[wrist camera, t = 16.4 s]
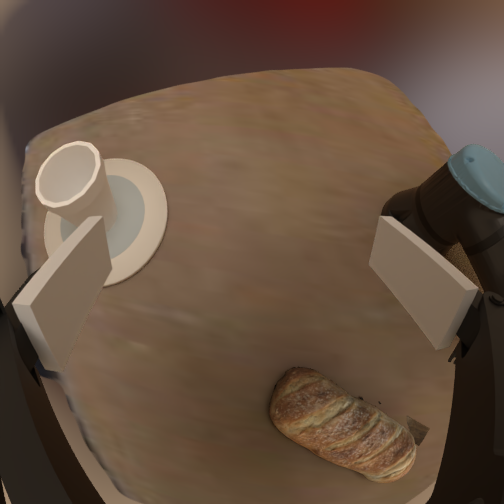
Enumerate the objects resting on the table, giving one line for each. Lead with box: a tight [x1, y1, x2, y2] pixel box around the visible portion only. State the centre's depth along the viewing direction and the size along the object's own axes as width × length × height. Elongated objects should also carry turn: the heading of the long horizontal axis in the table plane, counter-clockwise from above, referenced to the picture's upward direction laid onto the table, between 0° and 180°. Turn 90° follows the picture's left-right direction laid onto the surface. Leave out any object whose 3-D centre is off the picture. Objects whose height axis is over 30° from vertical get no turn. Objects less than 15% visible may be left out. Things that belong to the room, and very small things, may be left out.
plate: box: [44, 158, 168, 287], centre depth 41 cm, size 22×22×1 cm
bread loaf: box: [269, 367, 430, 483], centre depth 33 cm, size 35×18×9 cm, turn 61°
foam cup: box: [36, 141, 118, 232], centre depth 34 cm, size 10×9×13 cm
